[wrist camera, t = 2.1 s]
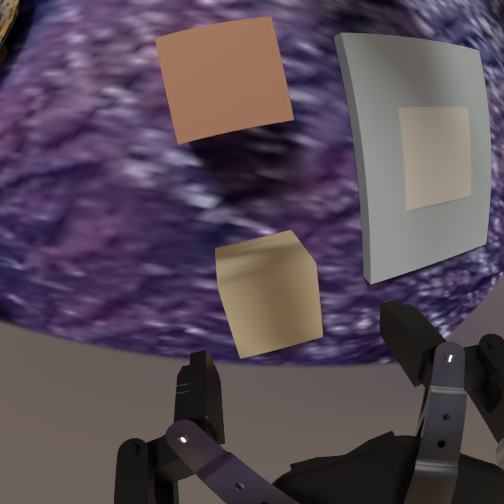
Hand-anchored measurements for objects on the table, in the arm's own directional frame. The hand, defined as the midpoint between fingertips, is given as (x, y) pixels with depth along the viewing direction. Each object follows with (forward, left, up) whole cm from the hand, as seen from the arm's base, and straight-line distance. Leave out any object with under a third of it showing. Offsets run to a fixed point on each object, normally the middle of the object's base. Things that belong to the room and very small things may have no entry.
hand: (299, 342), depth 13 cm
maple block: (-1, -1, -8) cm, 8 cm away
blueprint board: (+13, +5, -8) cm, 17 cm away
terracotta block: (-1, +11, -8) cm, 14 cm away
